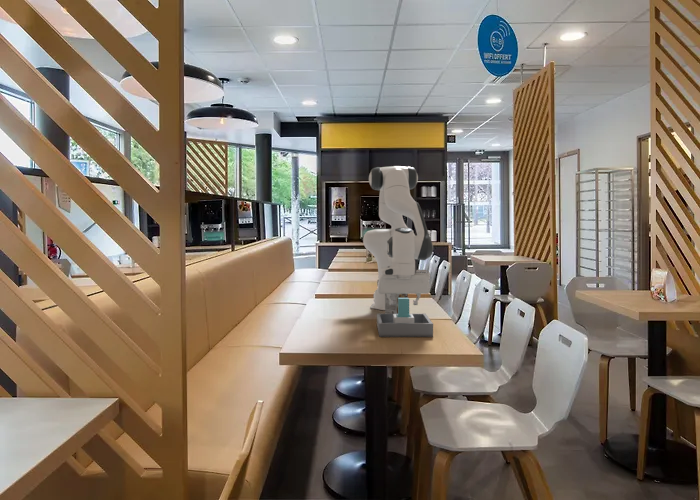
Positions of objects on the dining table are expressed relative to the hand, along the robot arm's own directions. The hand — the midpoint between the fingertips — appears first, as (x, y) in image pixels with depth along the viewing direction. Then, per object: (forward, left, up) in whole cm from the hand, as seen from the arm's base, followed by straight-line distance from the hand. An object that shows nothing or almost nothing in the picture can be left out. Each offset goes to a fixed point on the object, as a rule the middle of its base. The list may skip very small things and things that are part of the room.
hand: (403, 304), depth 192 cm
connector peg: (0, 0, -9) cm, 9 cm away
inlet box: (0, 0, -10) cm, 10 cm away
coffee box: (-21, -1, -11) cm, 23 cm away
